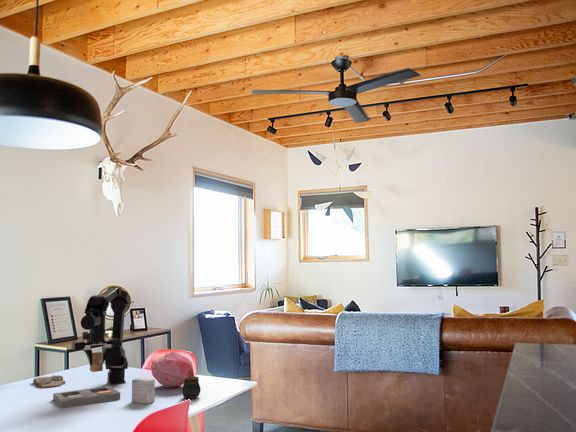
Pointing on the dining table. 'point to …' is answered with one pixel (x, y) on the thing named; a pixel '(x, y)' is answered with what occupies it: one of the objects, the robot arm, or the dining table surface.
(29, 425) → the dining table surface
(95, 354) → the plug
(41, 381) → the fossil
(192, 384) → the mate gourd
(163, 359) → the decorative rock
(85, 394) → the socket plate
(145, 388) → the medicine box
